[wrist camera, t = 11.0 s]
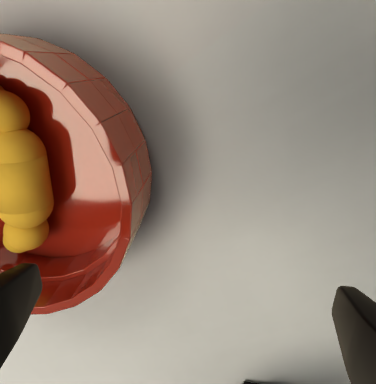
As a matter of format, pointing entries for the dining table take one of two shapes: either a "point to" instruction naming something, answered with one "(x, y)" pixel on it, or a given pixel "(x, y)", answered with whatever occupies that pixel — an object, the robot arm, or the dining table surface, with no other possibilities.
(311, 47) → the dining table surface
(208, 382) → the dining table surface
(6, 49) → the bowl
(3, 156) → the banana
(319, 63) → the dining table surface
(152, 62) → the dining table surface
